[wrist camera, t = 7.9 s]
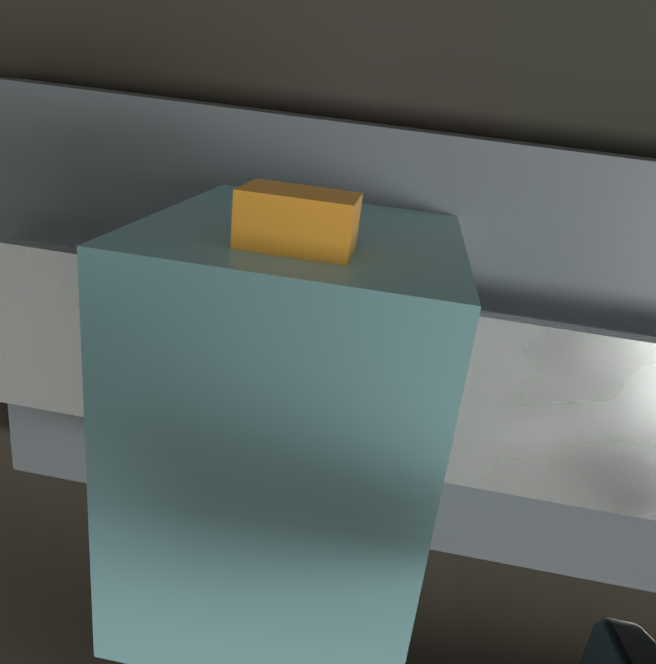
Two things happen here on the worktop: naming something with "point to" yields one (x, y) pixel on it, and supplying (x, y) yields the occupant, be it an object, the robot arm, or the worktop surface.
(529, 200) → the plate
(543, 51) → the worktop surface
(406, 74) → the worktop surface
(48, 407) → the din rail
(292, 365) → the block
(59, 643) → the worktop surface
